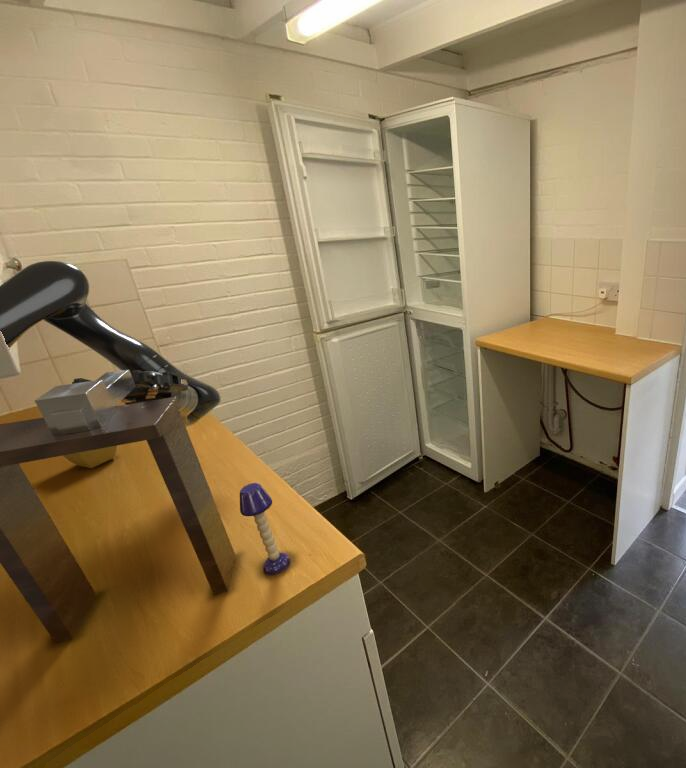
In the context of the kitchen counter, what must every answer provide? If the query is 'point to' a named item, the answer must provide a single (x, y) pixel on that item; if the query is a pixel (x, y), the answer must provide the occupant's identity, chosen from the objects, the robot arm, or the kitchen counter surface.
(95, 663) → the kitchen counter surface
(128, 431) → the dark brown arch frame
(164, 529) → the kitchen counter surface
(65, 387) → the silver stand
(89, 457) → the flower pot
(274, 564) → the toy lamp
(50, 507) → the kitchen counter surface
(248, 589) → the kitchen counter surface
